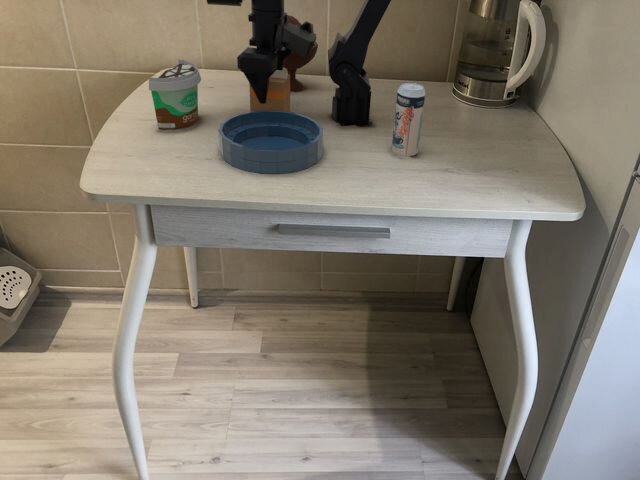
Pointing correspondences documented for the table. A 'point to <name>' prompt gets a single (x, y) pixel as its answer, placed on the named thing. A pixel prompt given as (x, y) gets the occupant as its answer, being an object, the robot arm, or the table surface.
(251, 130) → the bowl
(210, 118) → the table surface
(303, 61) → the ice cream bowl
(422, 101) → the beer can
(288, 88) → the carton
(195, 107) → the food container
